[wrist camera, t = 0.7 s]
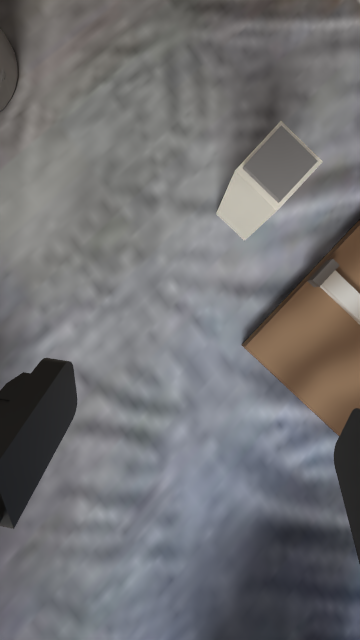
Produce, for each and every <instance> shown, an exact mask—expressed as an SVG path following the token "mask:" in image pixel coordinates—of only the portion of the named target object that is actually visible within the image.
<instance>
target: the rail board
mask: <svg viewBox="0 0 360 640" xmlns="http://www.w3.org/2000/svg"><path fill="white" fill-rule="evenodd" d="M242 346H243V347H244V348H245V349H246V350H247V351H248V352H249V353H250V354H252V355H253V356H254V357H255V358H256V359H257V360H258V361H259V362H260V363H261V364H262V365H263V366H264V367H265V368H267V369H268V370H269V371H270V372H271V373H272V374H273V375H274V376H275V377H276V378H277V379H278V380H279V381H280V382H282V383H283V384H284V385H285V386H286V387H287V388H288V389H289V390H290V391H291V392H292V393H293V394H294V395H295V396H297V397H298V398H299V399H300V400H301V401H302V402H303V403H304V404H305V405H306V406H307V407H308V408H309V409H310V410H312V411H313V412H314V413H315V414H316V415H317V416H318V417H319V418H320V419H321V420H322V421H323V422H324V423H325V424H326V425H328V426H329V427H330V428H331V429H332V430H333V431H334V432H335V433H336V434H337V435H339V436H340V434H341V432H342V430H343V428H344V426H345V424H346V422H347V420H348V418H349V416H350V414H351V412H352V411H353V410H354V409H355V408H359V409H360V220H359V221H358V222H357V223H356V224H355V225H354V226H353V227H352V228H351V229H350V230H349V231H348V233H347V234H346V235H345V236H344V237H343V238H342V239H341V240H340V241H339V242H338V243H337V244H336V245H335V246H334V247H333V248H332V250H331V251H330V252H329V253H328V254H327V255H326V256H325V257H324V258H323V259H322V260H321V261H320V262H319V263H318V264H317V265H316V267H315V268H314V269H313V270H312V271H311V272H310V273H309V274H308V275H307V276H306V277H305V278H304V279H303V280H302V281H301V282H300V284H299V285H298V286H297V287H296V288H295V289H294V290H293V291H292V292H291V293H290V294H289V295H288V296H287V297H286V298H285V299H284V301H283V302H282V303H281V304H280V305H279V306H278V307H277V308H276V309H275V310H274V311H273V312H272V313H271V314H270V315H269V316H268V318H267V319H266V320H265V321H264V322H263V323H262V324H261V325H260V326H259V327H258V328H257V329H256V330H255V331H254V332H253V333H252V334H251V336H250V337H249V338H248V339H247V340H246V341H245V342H244V343H243V344H242Z"/></svg>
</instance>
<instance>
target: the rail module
mask: <svg viewBox="0 0 360 640" xmlns="http://www.w3.org/2000/svg"><path fill="white" fill-rule="evenodd" d="M322 162H323V161H322V160H321V159H320V158H319V157H318V156H316V155H315V154H314V153H313V152H312V151H311V150H310V149H309V148H308V147H307V146H306V145H305V144H304V143H303V142H302V141H301V140H300V139H299V138H298V137H297V136H296V135H295V134H294V133H293V132H292V131H291V130H290V129H289V128H288V127H287V126H286V125H285V124H284V123H283V122H282V121H280V122H279V123H278V124H277V125H276V127H275V128H274V129H273V130H272V131H271V132H270V133H269V134H268V135H267V136H266V137H265V139H264V140H263V141H262V142H261V143H260V144H259V145H258V146H257V147H256V148H255V149H254V150H253V152H252V153H251V154H250V155H249V156H248V157H247V158H246V159H245V160H244V161H243V162H242V163H241V165H240V166H239V167H238V168H237V169H236V170H235V172H234V174H233V176H232V178H231V181H230V183H229V185H228V188H227V190H226V192H225V195H224V197H223V199H222V201H221V204H220V206H219V208H218V211H217V213H216V214H217V215H218V216H219V217H220V218H221V219H222V220H223V221H224V222H225V223H226V224H227V225H228V226H229V227H230V228H232V229H233V230H234V231H235V232H236V233H237V234H238V235H239V236H240V237H241V238H242V239H243V240H244V241H245V240H246V239H247V238H248V237H249V236H250V235H251V234H253V233H254V232H255V231H256V230H257V229H258V228H259V227H260V226H261V225H262V224H263V223H264V222H266V221H267V220H268V219H269V218H270V217H271V216H272V215H273V214H274V213H275V212H276V211H277V210H278V209H279V208H280V207H281V206H282V205H283V204H284V203H285V202H286V201H287V200H288V198H289V197H290V196H291V195H292V194H293V193H294V192H295V191H296V190H297V189H298V188H299V187H300V186H301V185H302V183H303V182H304V181H305V180H306V179H307V178H308V177H309V176H310V175H311V174H312V173H313V172H314V171H315V169H316V168H317V167H318V166H319V165H320V164H321V163H322Z"/></svg>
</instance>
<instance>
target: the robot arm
mask: <svg viewBox="0 0 360 640" xmlns="http://www.w3.org/2000/svg"><path fill="white" fill-rule="evenodd" d="M17 77H18V70H17V61H16V56H15V53H14V51H13V48H12V46H11V44H10V42H9V41H8V39H7V37H6V36H5V34H4V33H3V31H2V30H1V28H0V111H1V110H2V109H4V108H5V106H6V105H7V103H8V102H9V101H10V99H11V97H12V95H13V93H14V90H15V87H16V82H17ZM76 407H77V393H76V385H75V377H74V369H73V365H72V363H71V362H69V361H63V360H57V359H50V358H44V359H42V360H41V361H40V363H39V364H38V365H37V367H36V368H35V369H34V370H33V372H32V373H31V374H30V373H24V372H23V373H22V374H20V375H19V376H17V377H16V378H14V379H13V380H11V381H10V382H8V383H6V385H5V386H4V387H3V388H2V389H1V391H0V526H3V527H8V528H13V529H14V527H15V526H16V524H17V522H18V520H19V518H20V516H21V514H22V513H23V511H24V509H25V507H26V505H27V503H28V501H29V500H30V498H31V496H32V494H33V492H34V490H35V488H36V487H37V485H38V483H39V481H40V479H41V477H42V475H43V474H44V472H45V470H46V468H47V466H48V464H49V462H50V461H51V459H52V457H53V455H54V453H55V451H56V449H57V448H58V446H59V444H60V442H61V440H62V438H63V436H64V435H65V433H66V431H67V429H68V427H69V425H70V423H71V422H72V420H73V417H74V415H75V412H76ZM334 464H335V469H336V473H337V477H338V481H339V485H340V489H341V492H342V496H343V500H344V504H345V508H346V512H347V516H348V520H349V524H350V528H351V532H352V536H353V539H354V543H355V547H356V551H357V555H358V559H359V563H360V409H359V408H355V409H354V410H353V411H352V412H351V414H350V416H349V418H348V420H347V422H346V424H345V426H344V428H343V430H342V432H341V434H340V436H339V438H338V440H337V443H336V445H335V450H334Z"/></svg>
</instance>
